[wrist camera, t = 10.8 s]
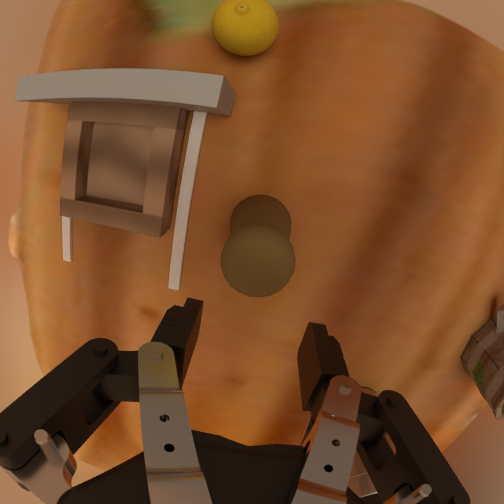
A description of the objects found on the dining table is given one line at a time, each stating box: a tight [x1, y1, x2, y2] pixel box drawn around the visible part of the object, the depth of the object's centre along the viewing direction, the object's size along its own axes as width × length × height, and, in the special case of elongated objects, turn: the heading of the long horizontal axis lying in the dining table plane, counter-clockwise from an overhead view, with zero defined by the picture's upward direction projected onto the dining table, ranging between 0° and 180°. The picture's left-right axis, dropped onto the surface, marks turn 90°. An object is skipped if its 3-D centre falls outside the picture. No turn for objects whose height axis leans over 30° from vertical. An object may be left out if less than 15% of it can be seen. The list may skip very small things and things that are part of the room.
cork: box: [221, 195, 295, 297], centre depth 25 cm, size 6×6×11 cm
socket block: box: [60, 101, 189, 237], centre depth 26 cm, size 12×12×3 cm
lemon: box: [212, 0, 279, 56], centre depth 20 cm, size 6×6×8 cm
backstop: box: [15, 68, 235, 291], centre depth 25 cm, size 21×20×8 cm
